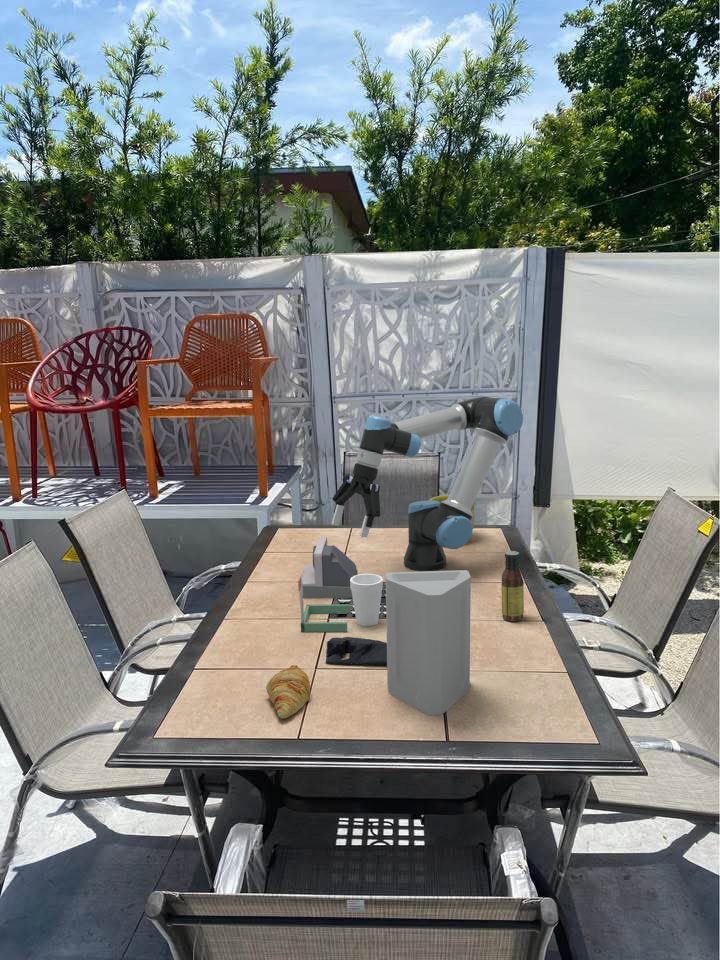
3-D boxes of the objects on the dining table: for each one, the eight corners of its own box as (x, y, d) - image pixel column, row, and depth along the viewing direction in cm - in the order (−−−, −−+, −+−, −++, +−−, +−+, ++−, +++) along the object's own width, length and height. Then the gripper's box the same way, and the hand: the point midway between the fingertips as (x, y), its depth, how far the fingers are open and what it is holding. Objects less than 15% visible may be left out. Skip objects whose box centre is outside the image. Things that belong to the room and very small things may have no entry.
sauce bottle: (527, 617, 204) (529, 552, 200) (516, 624, 200) (518, 557, 196) (508, 612, 209) (509, 548, 204) (496, 618, 204) (497, 553, 200)
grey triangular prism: (391, 716, 154) (389, 596, 148) (387, 683, 169) (385, 572, 163) (478, 713, 155) (479, 593, 149) (466, 680, 169) (467, 570, 163)
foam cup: (383, 628, 200) (382, 584, 197) (350, 628, 200) (349, 585, 197) (383, 614, 209) (382, 573, 206) (352, 615, 209) (350, 573, 206)
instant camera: (309, 575, 244) (307, 533, 241) (367, 578, 240) (366, 536, 237) (290, 598, 224) (288, 553, 221) (354, 601, 220) (353, 555, 217)
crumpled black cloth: (405, 673, 174) (404, 656, 173) (320, 665, 180) (319, 648, 179) (415, 647, 189) (415, 630, 188) (336, 640, 194) (336, 624, 193)
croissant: (297, 737, 154) (313, 708, 152) (255, 718, 153) (271, 689, 151) (305, 686, 174) (319, 660, 173) (268, 670, 173) (282, 643, 172)
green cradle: (349, 612, 211) (348, 559, 208) (346, 637, 194) (344, 580, 191) (306, 612, 212) (304, 560, 209) (299, 637, 195) (296, 581, 191)
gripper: (333, 455, 225) (315, 518, 226) (386, 471, 207) (366, 540, 208) (349, 459, 230) (332, 521, 231) (403, 475, 212) (384, 543, 213)
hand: (348, 530), depth 219 cm, fingers open, 13 cm apart
